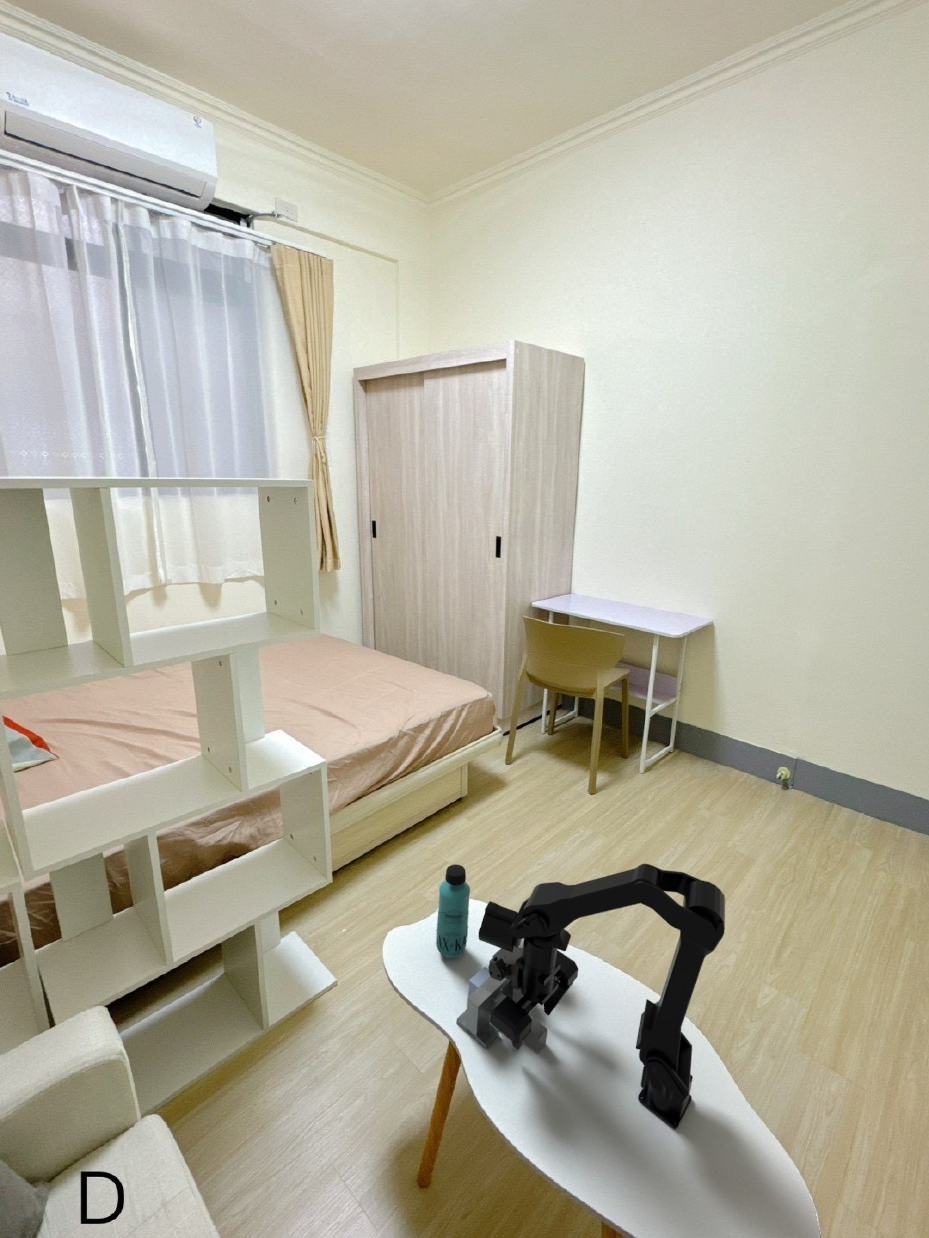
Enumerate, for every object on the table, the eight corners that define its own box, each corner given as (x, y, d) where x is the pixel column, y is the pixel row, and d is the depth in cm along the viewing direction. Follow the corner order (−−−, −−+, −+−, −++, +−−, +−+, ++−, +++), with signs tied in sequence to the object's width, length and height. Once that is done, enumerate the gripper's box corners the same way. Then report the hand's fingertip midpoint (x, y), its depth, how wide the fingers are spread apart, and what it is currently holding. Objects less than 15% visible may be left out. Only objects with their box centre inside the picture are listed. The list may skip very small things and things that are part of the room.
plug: (549, 1040, 102) (551, 1018, 101) (534, 1057, 99) (537, 1034, 98) (479, 984, 113) (480, 963, 112) (463, 998, 110) (465, 976, 109)
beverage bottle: (432, 942, 122) (435, 861, 117) (461, 936, 124) (466, 856, 119) (439, 967, 116) (443, 883, 111) (471, 960, 118) (476, 877, 113)
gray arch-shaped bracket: (532, 998, 110) (535, 966, 109) (485, 1049, 100) (488, 1014, 98) (504, 976, 115) (506, 945, 113) (456, 1023, 105) (458, 989, 103)
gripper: (532, 904, 110) (526, 971, 114) (467, 961, 96) (462, 1035, 100) (583, 937, 103) (575, 1007, 106) (520, 1003, 89) (513, 1081, 93)
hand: (532, 1030), depth 102 cm, fingers open, 9 cm apart
